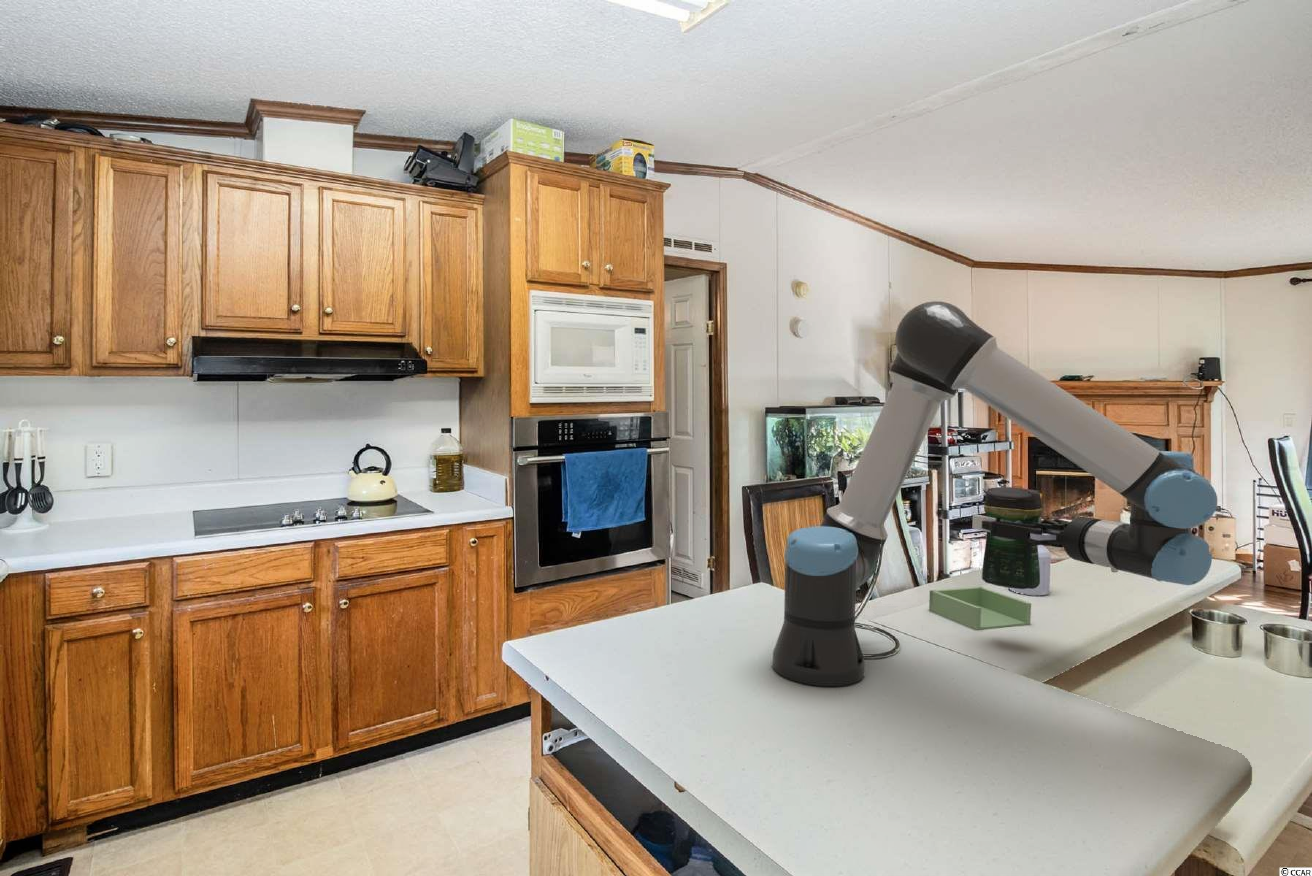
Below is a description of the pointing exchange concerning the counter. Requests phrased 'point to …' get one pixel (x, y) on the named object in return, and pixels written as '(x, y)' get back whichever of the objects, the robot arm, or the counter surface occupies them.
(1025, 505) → the coffee jar
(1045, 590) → the soap bottle
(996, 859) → the counter surface
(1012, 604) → the green tray
